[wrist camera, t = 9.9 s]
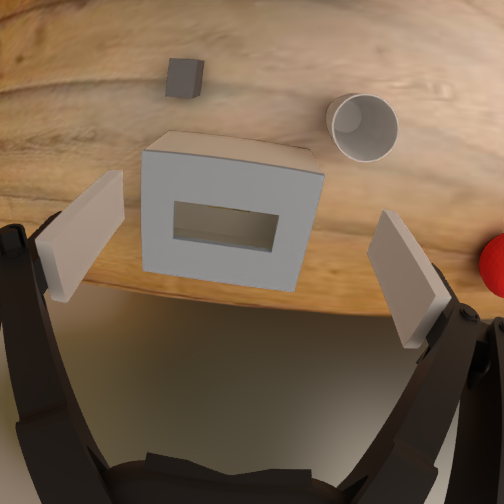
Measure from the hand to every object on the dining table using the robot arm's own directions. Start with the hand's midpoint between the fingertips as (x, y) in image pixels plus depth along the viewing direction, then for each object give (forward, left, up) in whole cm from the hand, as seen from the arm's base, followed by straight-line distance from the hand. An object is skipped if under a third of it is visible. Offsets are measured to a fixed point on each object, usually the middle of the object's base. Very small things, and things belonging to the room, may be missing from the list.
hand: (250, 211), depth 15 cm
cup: (-3, +12, -31) cm, 33 cm away
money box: (+11, -2, -31) cm, 33 cm away
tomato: (+13, +51, -31) cm, 61 cm away
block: (-5, -10, -31) cm, 33 cm away
